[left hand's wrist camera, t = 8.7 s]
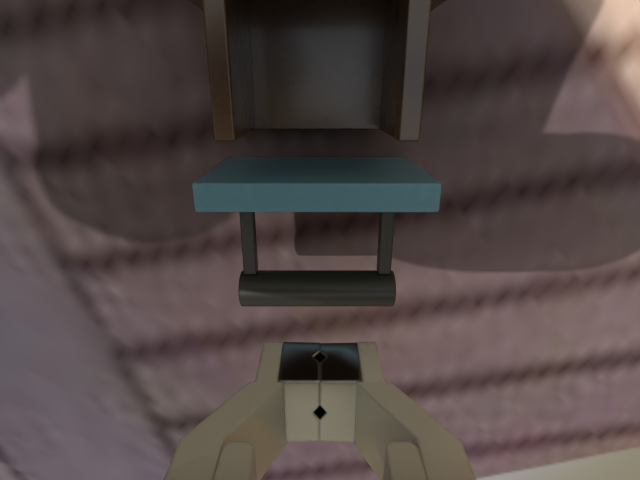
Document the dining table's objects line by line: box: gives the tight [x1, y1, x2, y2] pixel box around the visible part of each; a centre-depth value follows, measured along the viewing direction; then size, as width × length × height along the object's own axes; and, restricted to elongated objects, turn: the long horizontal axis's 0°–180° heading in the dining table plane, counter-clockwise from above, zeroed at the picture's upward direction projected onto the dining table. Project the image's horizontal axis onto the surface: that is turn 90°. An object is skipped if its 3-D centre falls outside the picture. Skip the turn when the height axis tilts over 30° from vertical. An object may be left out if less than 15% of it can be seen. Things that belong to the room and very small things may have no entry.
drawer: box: [192, 0, 442, 306], centre depth 16 cm, size 26×10×7 cm, turn 0°
